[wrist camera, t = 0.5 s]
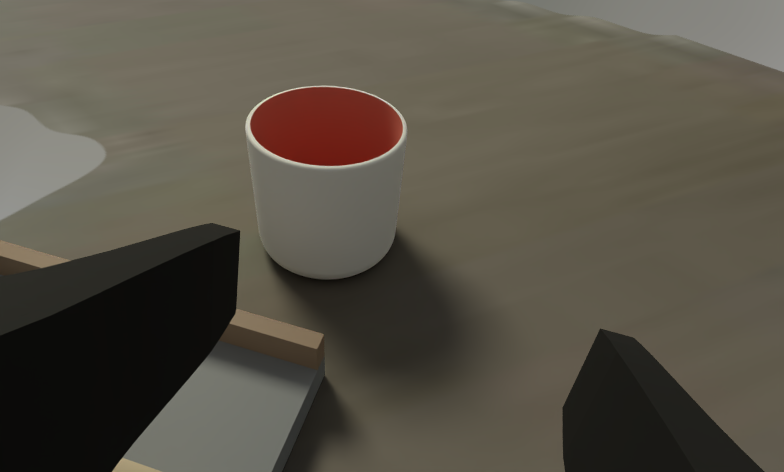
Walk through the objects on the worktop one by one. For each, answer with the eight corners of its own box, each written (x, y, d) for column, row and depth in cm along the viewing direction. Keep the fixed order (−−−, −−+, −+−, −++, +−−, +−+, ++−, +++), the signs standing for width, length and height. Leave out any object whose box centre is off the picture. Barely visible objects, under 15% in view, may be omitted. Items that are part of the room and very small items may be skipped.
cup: (317, 312, 33) (313, 192, 26) (234, 232, 37) (212, 113, 31) (420, 244, 38) (440, 131, 31) (337, 182, 43) (338, 72, 36)
